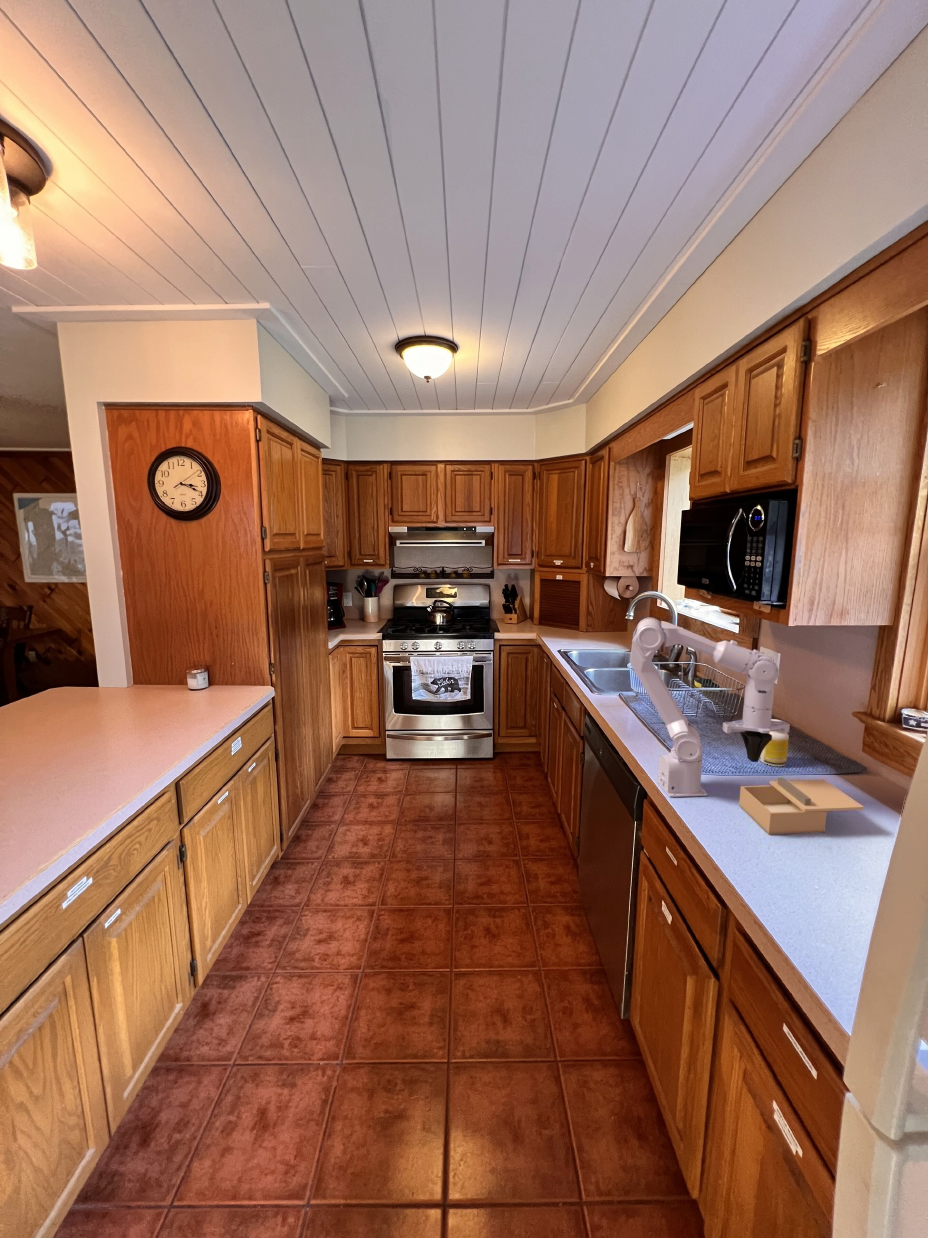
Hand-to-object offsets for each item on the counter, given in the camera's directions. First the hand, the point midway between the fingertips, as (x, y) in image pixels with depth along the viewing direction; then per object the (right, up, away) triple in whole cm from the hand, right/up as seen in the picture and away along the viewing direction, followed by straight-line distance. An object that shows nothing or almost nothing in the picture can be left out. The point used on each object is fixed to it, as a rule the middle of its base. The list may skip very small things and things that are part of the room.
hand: (752, 760), depth 117 cm
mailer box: (+2, -11, -7) cm, 13 cm away
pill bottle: (+17, -6, +19) cm, 26 cm away
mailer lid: (+9, -6, -8) cm, 13 cm away
